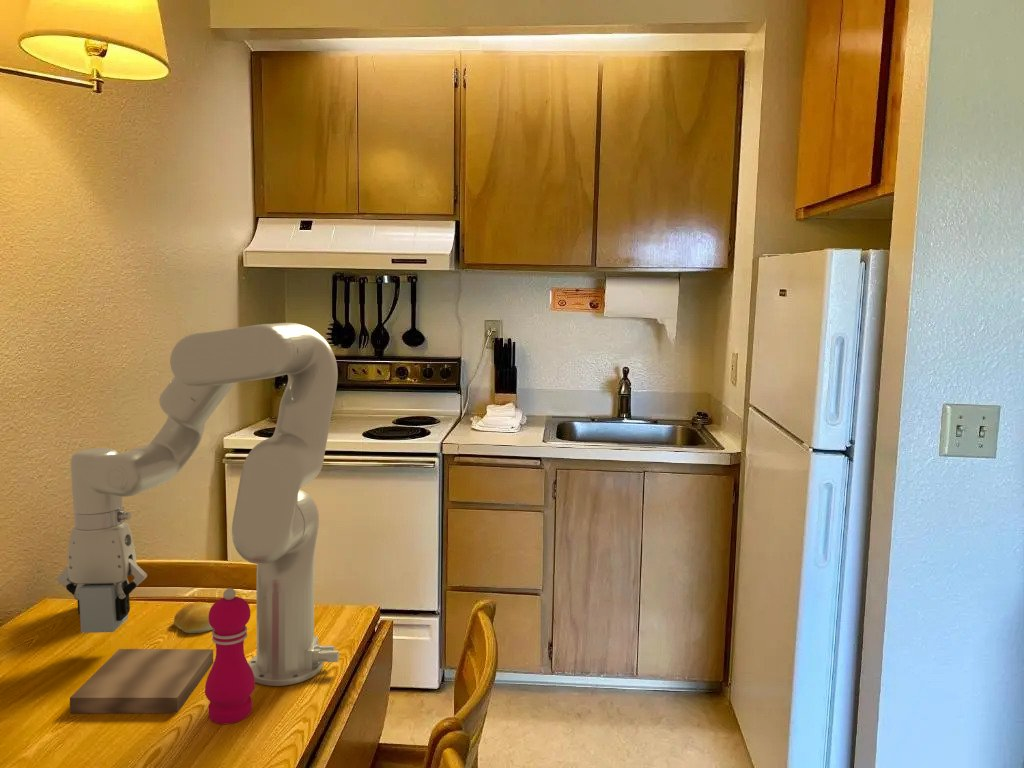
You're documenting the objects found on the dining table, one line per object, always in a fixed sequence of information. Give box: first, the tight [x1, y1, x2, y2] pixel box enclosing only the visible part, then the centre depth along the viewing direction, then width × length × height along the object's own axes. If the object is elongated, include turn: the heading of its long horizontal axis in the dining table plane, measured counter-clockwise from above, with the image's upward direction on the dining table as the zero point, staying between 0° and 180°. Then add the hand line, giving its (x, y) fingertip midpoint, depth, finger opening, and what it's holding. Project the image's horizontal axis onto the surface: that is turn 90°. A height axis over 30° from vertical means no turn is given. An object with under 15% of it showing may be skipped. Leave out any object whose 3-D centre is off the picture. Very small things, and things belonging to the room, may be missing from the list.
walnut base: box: [69, 648, 214, 714], centre depth 121 cm, size 16×16×2 cm
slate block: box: [79, 584, 129, 634], centre depth 131 cm, size 6×6×8 cm
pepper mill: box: [204, 587, 256, 725], centre depth 113 cm, size 7×7×20 cm
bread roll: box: [173, 601, 214, 634], centre depth 144 cm, size 8×9×4 cm
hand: (104, 617), depth 131 cm, fingers closed on slate block, 5 cm apart
